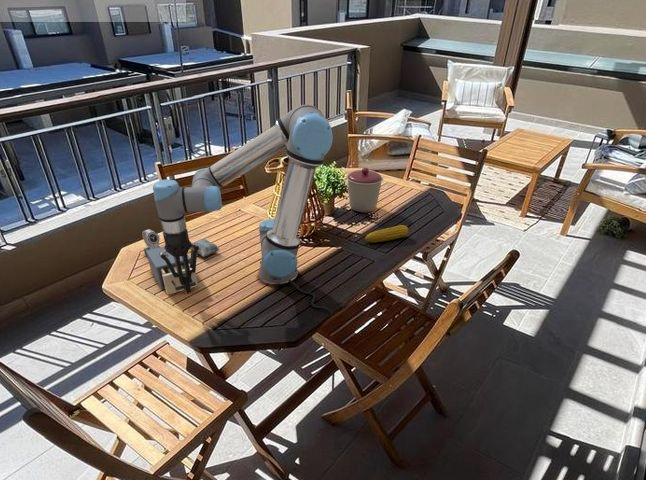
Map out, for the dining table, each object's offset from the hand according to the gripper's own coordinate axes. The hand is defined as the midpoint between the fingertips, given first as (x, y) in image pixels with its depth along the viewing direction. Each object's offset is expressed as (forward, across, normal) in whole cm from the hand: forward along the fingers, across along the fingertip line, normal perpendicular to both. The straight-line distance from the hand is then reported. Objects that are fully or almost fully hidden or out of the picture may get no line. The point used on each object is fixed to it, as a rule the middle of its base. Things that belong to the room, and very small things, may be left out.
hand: (187, 291), depth 157 cm
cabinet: (+5, 0, -21) cm, 21 cm away
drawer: (+4, 0, -11) cm, 12 cm away
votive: (+3, 0, -14) cm, 14 cm away
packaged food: (+5, -17, -32) cm, 36 cm away
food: (+5, -91, -1) cm, 91 cm away
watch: (+5, +1, -41) cm, 42 cm away
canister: (+5, -102, -35) cm, 108 cm away
